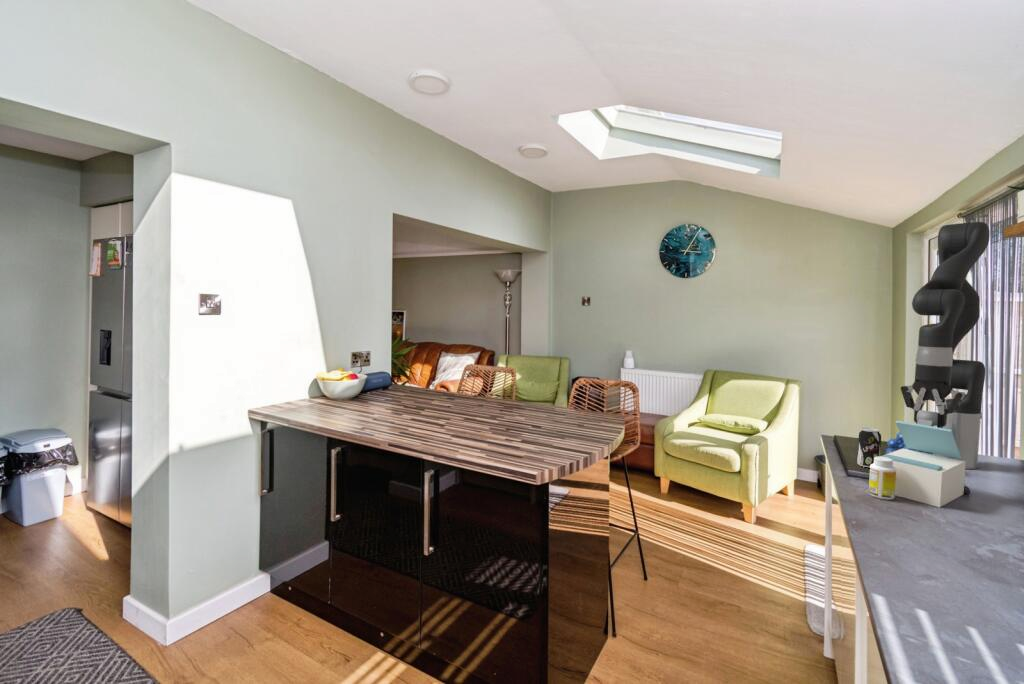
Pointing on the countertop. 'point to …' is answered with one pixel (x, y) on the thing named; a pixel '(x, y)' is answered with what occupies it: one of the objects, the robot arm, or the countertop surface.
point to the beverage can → (868, 446)
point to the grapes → (899, 445)
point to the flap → (928, 435)
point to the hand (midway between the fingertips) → (929, 425)
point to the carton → (927, 477)
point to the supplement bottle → (882, 478)
